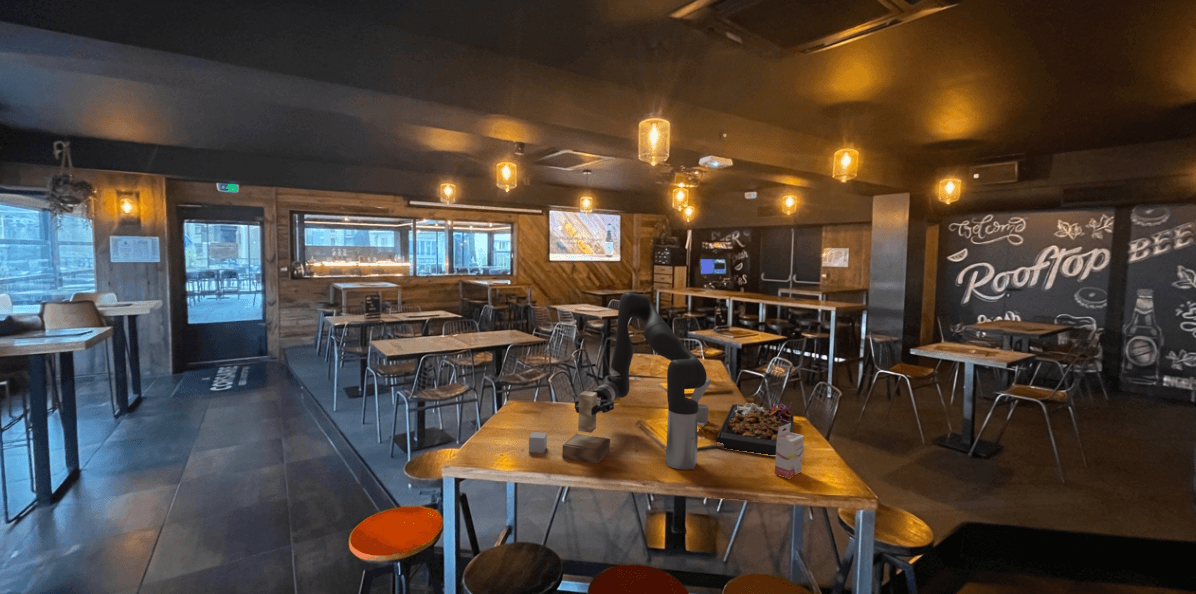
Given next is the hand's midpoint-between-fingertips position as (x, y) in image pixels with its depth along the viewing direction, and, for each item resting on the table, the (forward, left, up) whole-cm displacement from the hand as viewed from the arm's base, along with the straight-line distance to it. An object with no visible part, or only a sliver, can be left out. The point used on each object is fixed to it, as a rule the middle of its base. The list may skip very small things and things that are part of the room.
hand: (585, 410), depth 165 cm
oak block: (0, -3, -7) cm, 7 cm away
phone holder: (-27, -48, -15) cm, 58 cm away
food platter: (-52, -48, -16) cm, 73 cm away
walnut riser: (0, -2, -15) cm, 15 cm away
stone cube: (+16, +1, -15) cm, 22 cm away
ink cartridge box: (-62, -12, -15) cm, 65 cm away
